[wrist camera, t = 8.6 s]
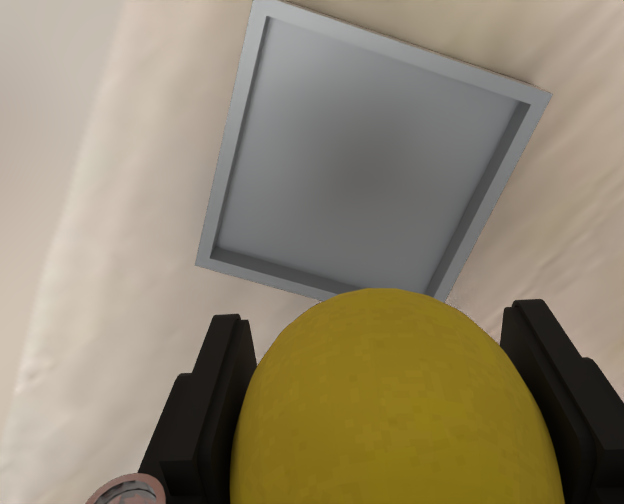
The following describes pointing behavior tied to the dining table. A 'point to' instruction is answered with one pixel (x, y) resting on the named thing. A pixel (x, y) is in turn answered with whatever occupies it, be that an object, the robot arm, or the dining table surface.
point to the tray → (357, 158)
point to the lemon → (390, 412)
